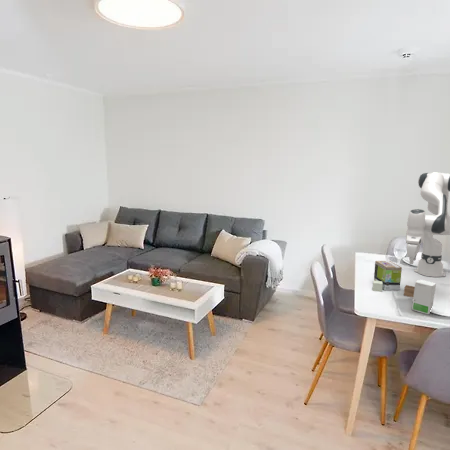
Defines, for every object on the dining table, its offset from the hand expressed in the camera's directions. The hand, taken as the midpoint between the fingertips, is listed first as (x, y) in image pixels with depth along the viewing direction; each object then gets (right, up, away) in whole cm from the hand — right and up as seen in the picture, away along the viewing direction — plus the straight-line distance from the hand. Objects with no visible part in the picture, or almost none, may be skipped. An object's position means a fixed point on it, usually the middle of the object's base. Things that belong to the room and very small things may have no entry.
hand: (412, 262), depth 194 cm
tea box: (-6, -17, +18) cm, 26 cm away
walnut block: (0, -20, +4) cm, 20 cm away
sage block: (-15, -18, +12) cm, 27 cm away
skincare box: (-5, -24, -17) cm, 30 cm away
